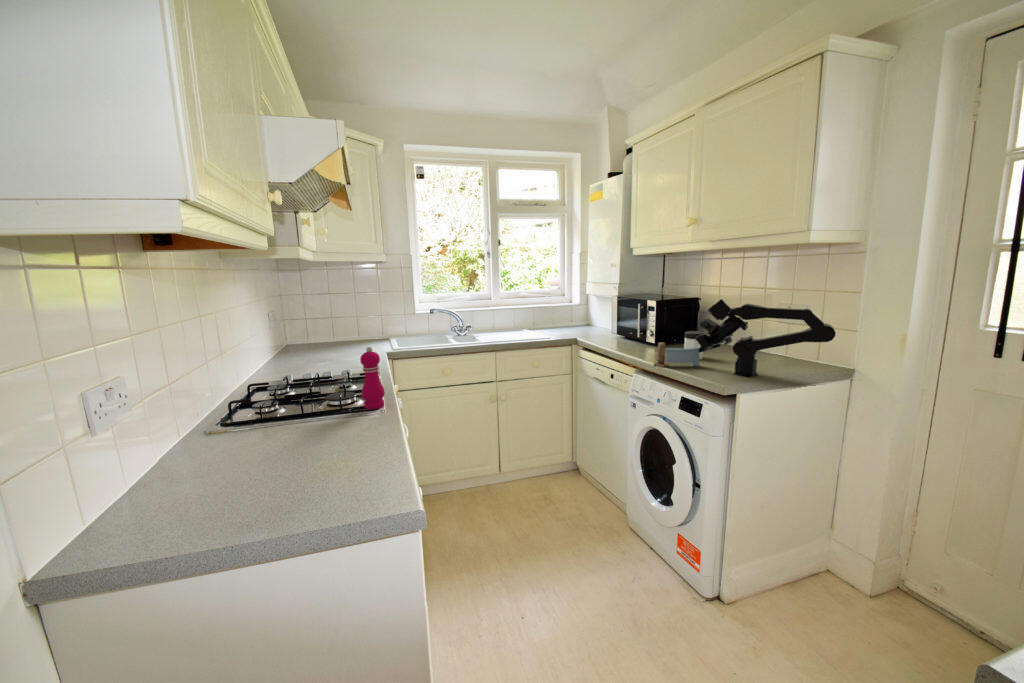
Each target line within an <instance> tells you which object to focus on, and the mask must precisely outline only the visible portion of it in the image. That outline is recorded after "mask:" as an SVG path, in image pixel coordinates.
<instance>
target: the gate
mask: <svg viewBox="0 0 1024 683" xmlns="http://www.w3.org/2000/svg"><path fill="white" fill-rule="evenodd" d="M698 350H699V347H692V349H691V348H684V347H683V348H676V347H675V348H669V347H668V348H667V347H665V363H667V364H669V363H670V364H671V363H672V364H674V363H675V364H676V363H679V364H681V363H682V364H684V363H685V364H687V363H689V364H691V366H692V367H699V366H700V359H699V354H700V353H699V351H698Z"/></svg>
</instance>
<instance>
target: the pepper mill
mask: <svg viewBox="0 0 1024 683" xmlns="http://www.w3.org/2000/svg"><path fill="white" fill-rule="evenodd" d="M365 350H366V352H363V353H362V355H361V356H360V365H361V366H363V367H362V372H364V382H363V386H362V388H361V398H362V400H364V402H363V407H364V409H367V410H378V409H381V408H383V407H384V406H385V400H384V399H383V398H384V396H385V395H386V394H385V393H386V392H385V388H384V386H383V383H382V382H381V381H380V377H379V370H380V366H379V363H380V361H381V359H380V358H381V357H380V355H379V353H377V352H376V351H373V348H372V347H371V346H367V347H366V349H365Z"/></svg>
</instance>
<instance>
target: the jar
mask: <svg viewBox="0 0 1024 683" xmlns="http://www.w3.org/2000/svg"><path fill="white" fill-rule="evenodd" d="M700 334H705V332H704V331H700V330H698V331H697V330H688V331H685V332H684V344H683V348H691V349H692V347H699V348H700V347H701V345H700V344H699V343H698V342H697V340H696V339H695V338H696V337H697V336H698V335H700ZM703 359H704V352H700V354H699V360H703Z"/></svg>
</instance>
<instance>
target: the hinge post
mask: <svg viewBox="0 0 1024 683" xmlns="http://www.w3.org/2000/svg"><path fill="white" fill-rule="evenodd" d="M668 365H670V364H669V363H666V342H658V346H657V362H655V363H653V366H654V367H659V368H665V367H669V366H668ZM664 366H665V367H664Z"/></svg>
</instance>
